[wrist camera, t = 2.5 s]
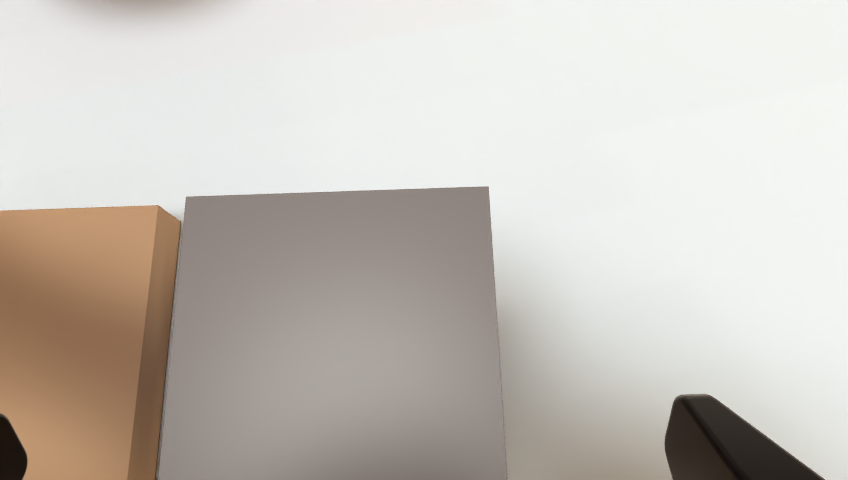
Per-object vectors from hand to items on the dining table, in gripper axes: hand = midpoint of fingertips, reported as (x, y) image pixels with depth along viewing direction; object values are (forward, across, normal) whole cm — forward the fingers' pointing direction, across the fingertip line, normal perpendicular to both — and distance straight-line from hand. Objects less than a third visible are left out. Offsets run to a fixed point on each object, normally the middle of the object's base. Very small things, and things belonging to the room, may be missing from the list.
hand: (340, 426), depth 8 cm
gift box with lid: (+7, 0, +6) cm, 9 cm away
